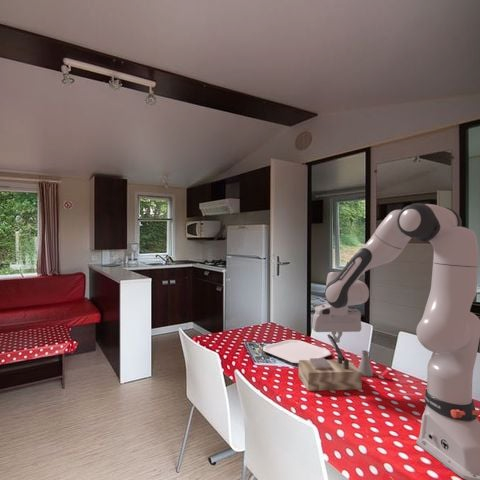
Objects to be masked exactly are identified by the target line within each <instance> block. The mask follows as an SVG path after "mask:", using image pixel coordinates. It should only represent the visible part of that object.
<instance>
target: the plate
mask: <svg viewBox="0 0 480 480" xmlns="http://www.w3.org/2000/svg"><path fill="white" fill-rule="evenodd" d="M262 351H263V352H264V353H266V354H267V355H268V354H269V355H271V356H274V357H275V356H276V358H278V359H280V360H283V361H285V362H287V361H288V362H287V363H290V364H293V365H299V360H310V358H325V359H326V358H328V357H331V356H332V353H331V351H330V350H329V349H327V348H324V347H320V346H318V345H315V344H311V343H309V342H305V341H302V340H300V339H285V340H283V341H279V342H276V343H272V344H271V343H270V344H267V345H265V346H263V347H262Z"/></svg>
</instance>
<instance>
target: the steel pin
mask: <svg viewBox="0 0 480 480" xmlns="http://www.w3.org/2000/svg"><path fill="white" fill-rule="evenodd" d="M327 360H328V359H326V357H325V358H310V364H311V365H312V366H313V368H314V369H330V363H329V362H328V361H327Z"/></svg>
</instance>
